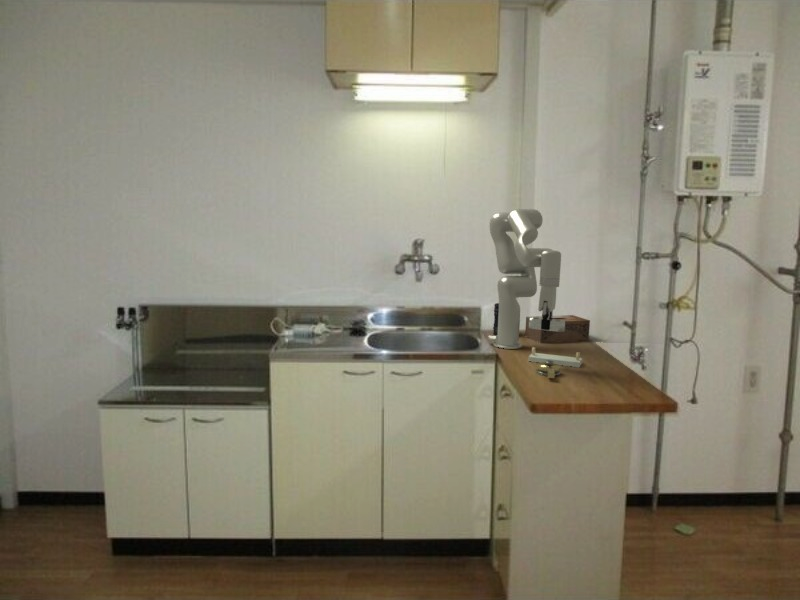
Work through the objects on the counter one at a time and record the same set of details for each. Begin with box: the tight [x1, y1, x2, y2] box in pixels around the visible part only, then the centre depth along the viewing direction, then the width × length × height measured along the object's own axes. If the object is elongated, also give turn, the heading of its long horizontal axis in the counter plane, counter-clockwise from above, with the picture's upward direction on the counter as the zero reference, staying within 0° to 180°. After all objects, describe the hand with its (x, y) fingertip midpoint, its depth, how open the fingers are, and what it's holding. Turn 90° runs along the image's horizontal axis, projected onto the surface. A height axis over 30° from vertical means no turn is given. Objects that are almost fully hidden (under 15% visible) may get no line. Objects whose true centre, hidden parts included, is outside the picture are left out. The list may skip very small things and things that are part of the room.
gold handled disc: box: [537, 361, 561, 379], centre depth 227 cm, size 15×8×3 cm, turn 171°
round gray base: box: [535, 368, 562, 377], centre depth 231 cm, size 9×9×1 cm
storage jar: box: [492, 302, 499, 336], centre depth 299 cm, size 10×10×15 cm
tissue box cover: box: [524, 314, 591, 344], centre depth 293 cm, size 26×14×10 cm, turn 107°
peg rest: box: [527, 347, 583, 368], centre depth 247 cm, size 20×8×5 cm, turn 67°
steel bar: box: [528, 316, 565, 332], centre depth 241 cm, size 4×14×4 cm, turn 65°
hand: (546, 327), depth 241 cm, fingers closed on steel bar, 4 cm apart
